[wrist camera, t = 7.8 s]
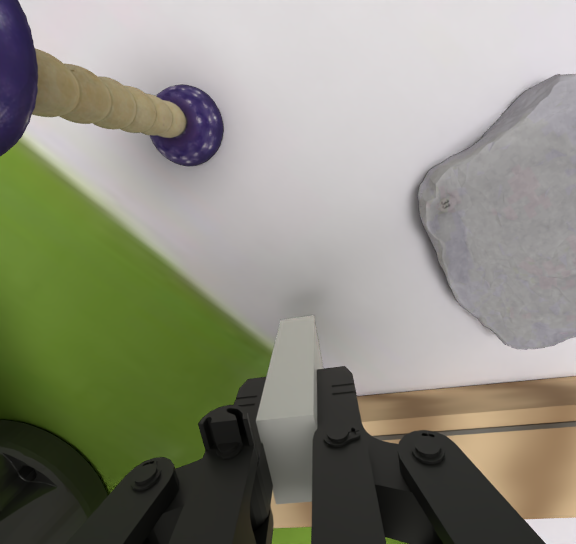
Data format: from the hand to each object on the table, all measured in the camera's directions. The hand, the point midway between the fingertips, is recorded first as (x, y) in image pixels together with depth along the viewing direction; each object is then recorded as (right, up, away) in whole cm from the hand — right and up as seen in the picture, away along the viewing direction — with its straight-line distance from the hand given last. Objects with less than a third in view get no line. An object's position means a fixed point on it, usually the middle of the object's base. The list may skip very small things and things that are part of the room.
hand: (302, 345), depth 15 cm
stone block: (+12, +6, +4) cm, 14 cm away
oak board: (+7, -9, +8) cm, 14 cm away
